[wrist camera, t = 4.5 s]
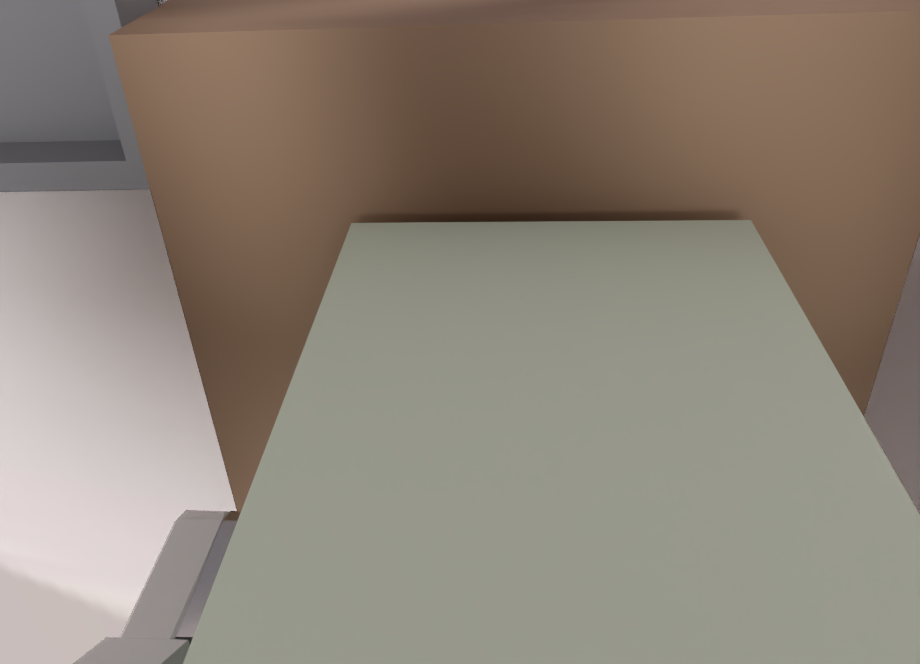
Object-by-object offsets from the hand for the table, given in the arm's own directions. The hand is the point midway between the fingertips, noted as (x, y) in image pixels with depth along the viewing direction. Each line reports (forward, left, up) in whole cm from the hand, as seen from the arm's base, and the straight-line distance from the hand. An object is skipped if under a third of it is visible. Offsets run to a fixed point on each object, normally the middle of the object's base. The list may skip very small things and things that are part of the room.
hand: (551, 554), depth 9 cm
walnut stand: (0, 0, -8) cm, 8 cm away
